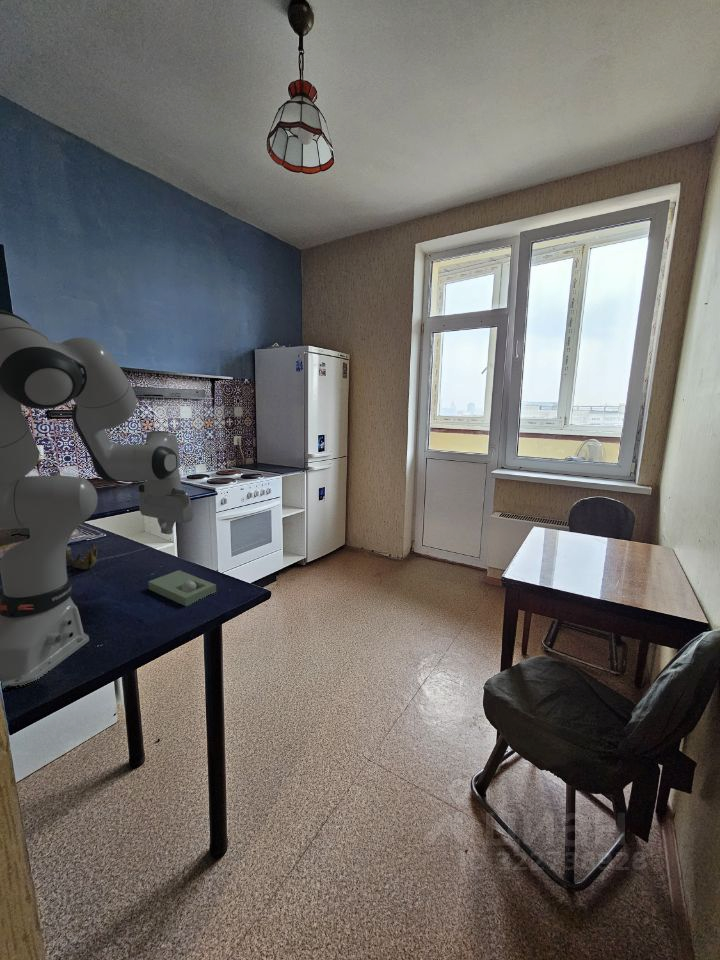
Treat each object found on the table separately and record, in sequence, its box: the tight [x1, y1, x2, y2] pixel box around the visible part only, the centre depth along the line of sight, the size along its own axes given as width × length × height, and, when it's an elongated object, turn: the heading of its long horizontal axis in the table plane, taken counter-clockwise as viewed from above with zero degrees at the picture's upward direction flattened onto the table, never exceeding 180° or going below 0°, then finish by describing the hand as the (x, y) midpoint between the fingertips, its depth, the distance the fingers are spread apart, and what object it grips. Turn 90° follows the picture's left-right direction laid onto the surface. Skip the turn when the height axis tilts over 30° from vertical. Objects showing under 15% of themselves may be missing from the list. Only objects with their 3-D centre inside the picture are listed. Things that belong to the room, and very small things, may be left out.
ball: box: [182, 580, 196, 593], centre depth 114 cm, size 4×4×4 cm
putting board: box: [147, 570, 217, 607], centre depth 115 cm, size 18×10×2 cm, turn 59°
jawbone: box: [66, 542, 98, 570], centre depth 129 cm, size 9×15×10 cm
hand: (166, 533), depth 115 cm, fingers closed
